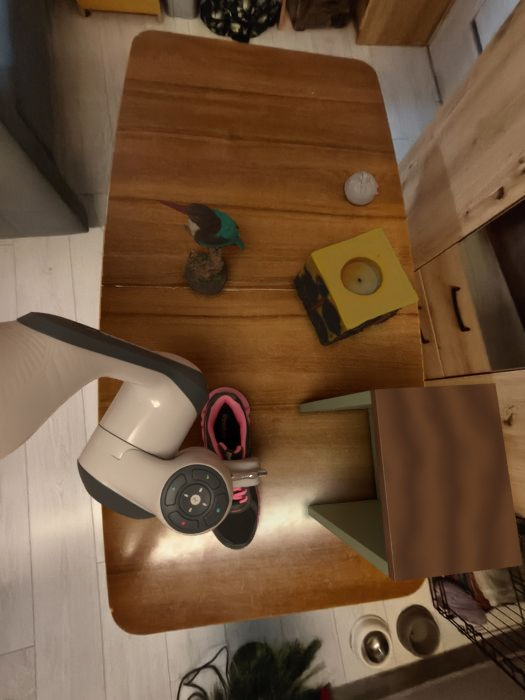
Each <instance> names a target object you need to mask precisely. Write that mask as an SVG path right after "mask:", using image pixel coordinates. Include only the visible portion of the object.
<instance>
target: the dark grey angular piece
mask: <svg viewBox="0 0 525 700" xmlns="http://www.w3.org/2000/svg"><path fill="white" fill-rule="evenodd" d="M299 407H300V413H309V412H310V413H313V412H327V411H344V410H345V411H346V410H362V409H363V410H364V409H365V410H366V409H367V411H368V420H369V430H370V431H369V432H370V442H371V450H372V459H373V470H374V479H375V480H374V482H375V491H376V499H368V500H367V499H366V500H357V501H356V500H355V501H345V502H336V503H335V502H334V503H325V504H315V505H308V506H307V514H308V516H309V517H311V518H312V519H313V520H314V521H316V522H317V523H318V524H320V526H322V527H324V528H325V529H326V530H328V531H329V532H330V533H331V534H333V535H334V536H335V537H336V538H338V539H339V540H341V541H342V542H343V543H344V544H345V545H347V546H348V547H349V548H351V549H352V550H353V551H355V552H356V553H357V554H358V555H360V556H361V557H362V558H363V559H365V561H367V562H369V563H370V564H371V565H373V566H374V567H375V568H376V569H377V570H378V571H380V572H381V573H383V574H384V575H385V576H387V577H388V578H389V575H388V565H387V555H386V545H385V535H384V526H383V516H382V506H381V496H380V486H379V476H378V466H377V456H376V446H375V437H374V427H373V417H372V407H371V397H370V390H366V391H360V392H355V393H349V394H345V395H339V396H335V397H330V398H324V399H320V400H319V399H318V400H314V401H309V402H304V403H301V404H300V405H299Z"/></svg>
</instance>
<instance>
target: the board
mask: <svg viewBox="0 0 525 700" xmlns="http://www.w3.org/2000/svg"><path fill="white" fill-rule="evenodd" d="M369 391H370V397H371V407H372V417H373V427H374V437H375V446H376V456H377V466H378V476H379V486H380V496H381V506H382V516H383V526H384V535H385V545H386V555H387V565H388V575H389V577H388V578H389V579H391V580H392V582H394V583H398V582H404V581H412V580H420V579H427V578H428V579H429V578H434V577H435V578H437V577H444V576H450V575H458V574H466V573H474V572H475V573H476V572H483V571H490V570H496V569H497V570H498V569H505V568H506V569H507V568H513V567H520V566H524V564H523V558H522V552H521V546H520V539H519V538H520V537H519V531H518V526H517V518H516V511H515V504H514V497H513V491H512V485H511V479H510V471H509V465H508V458H507V451H506V445H505V438H504V437H505V436H504V431H503V426H502V425H503V424H502V418H501V411H500V405H499V399H498V398H499V397H498V392H497V391H498V390H497V385H496V383H473V384H456V385H455V384H453V385H437V386H435V385H434V386H416V387H415V386H414V387H397V388H396V387H395V388H393V387H392V388H375V389H370V390H369Z"/></svg>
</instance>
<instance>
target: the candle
mask: <svg viewBox="0 0 525 700" xmlns="http://www.w3.org/2000/svg"><path fill="white" fill-rule="evenodd" d="M293 284H294V288H295V290H296V293H297V294H298V295H297V296H298V298H299V300H300V301H301V302H302V305H303V308H304V310H305V311H306V314H307V317H308V318H309V319H308V320H309V321H310V322H311V324H312V326H313V328H314V331H315V334H316V335H317V337H318V340H319V344H320V345H322V346H323V347H327V346H330V345H332V344H334V343H337V342H340V341H343V340H346V339H349V338H350V337H352V336H356V335H358V334H360V333H363V332H364V330H365V329H367V328H369V327H371V326H379V325H380V324H383V323H386V322H387V321H388V320H389V319H392V318H393V317H395V316H397V313H398V312H400V310H401V309H403V308H405V307H407V306H411V305H413V304H415V303H418V302H419V301H420V298H419V295H418V293H417V292H416V290H415V288H414V286H413V285H412V282H411V280H410V279H409V277H408V275H407V273H406V271H405V269H404V267H403V266H402V264H401V262H400V260H399V258H398V256H397V254H396V252H395V250H394V248H393V246H392V244H391V242H390V239H389V238H388V236H387V233H386V231H385V230H384V228H383V226H380V227H376V228H374V229H371V230H368V231H365V232H363V233H360V234H358V235H356V236H353V237H350V238H349V239H346V240H343V241H340V242H337V243H336V242H335V243H333V244H330V245H328V246H325V247H322V248H319V249H317V250H314V251H313V252H311V253H310V254H309V256H308V257H307V259H306V260H305V261H304V264H303V267H302V269H301V271H300V272H299V273H297V274H296V276H295V278H294V279H293Z"/></svg>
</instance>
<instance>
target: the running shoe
mask: <svg viewBox="0 0 525 700" xmlns="http://www.w3.org/2000/svg"><path fill="white" fill-rule="evenodd" d="M209 397H210V399H209V401H208V402H207V404H206V405H205V407H204V408H203V410H202V411H201V413H200V418H201V421H200V426H201V435H202V441H203V448H207V449H209V450H211V451H213V452H214V453H215V454H216V455H218V457H219V458H220V459H221V460H240V459H246V458H248V457H253V452H252V451H253V450H252V445H251V431H250V428H251V427H250V424H251V417H250V416H249V414H251V408H250V404H249V402H248V399H247V398H246V397H245V395H244V394H243V393H242V392H241V391H239V390H237V389H235V388H232V387H229V386H228V387H227V386H222V387H218V388H215V389H213V390H212V391H210V392H209ZM260 508H261V507H260V496H259V493H258V487H257V485H255V486H248V487H237V488H234V492H233V500H232V505H231V508H230V510H229V513H228V514H227V516H226V517H225V519H224V520H223V521H222V522H221V523H220V524H219V525H218V526H217V527H216V528H215V529H213V530H212V531H211V532H212V534H213V535H214V537H215V538H216V539H217V540H218V542H220V544H221V545H223V546H224V547H225V548H228V549H230V550H232V551H241V550H243V549H245V548H246V547H248V546H249V545H250V544H251V543H252V541H254V538H255V535H256V533H257V530H258V527H259V526H258V525H259V522H260V511H261V509H260Z"/></svg>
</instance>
